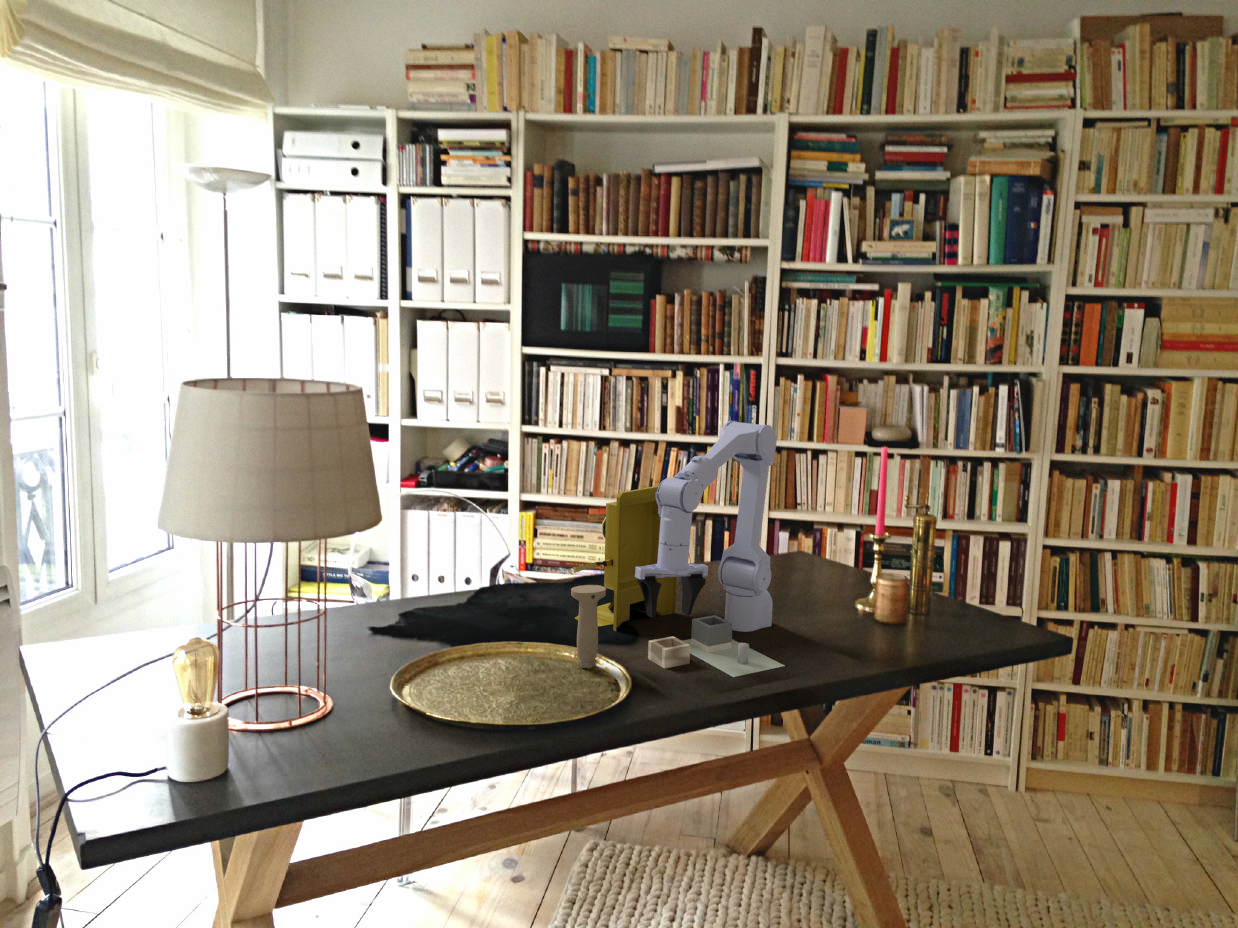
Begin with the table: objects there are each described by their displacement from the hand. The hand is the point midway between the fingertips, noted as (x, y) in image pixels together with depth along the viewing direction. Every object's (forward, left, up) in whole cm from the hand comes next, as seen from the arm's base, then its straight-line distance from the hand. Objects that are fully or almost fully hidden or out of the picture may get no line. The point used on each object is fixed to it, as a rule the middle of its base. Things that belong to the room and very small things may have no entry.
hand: (668, 614), depth 188 cm
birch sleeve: (0, 0, -10) cm, 10 cm away
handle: (+13, -8, -11) cm, 18 cm away
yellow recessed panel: (-8, -28, -11) cm, 31 cm away
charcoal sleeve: (-12, -3, -9) cm, 15 cm away
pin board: (-12, +2, -10) cm, 16 cm away
